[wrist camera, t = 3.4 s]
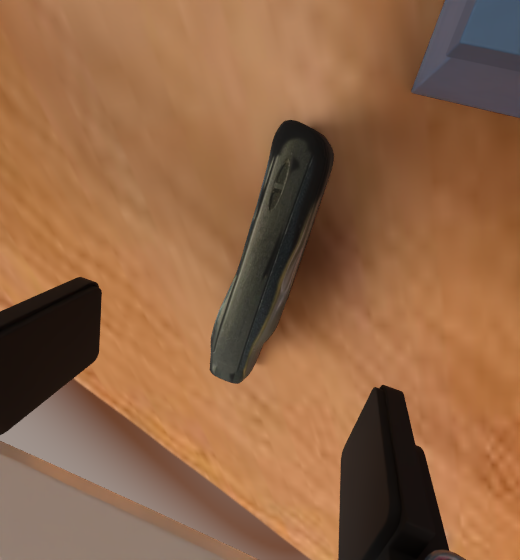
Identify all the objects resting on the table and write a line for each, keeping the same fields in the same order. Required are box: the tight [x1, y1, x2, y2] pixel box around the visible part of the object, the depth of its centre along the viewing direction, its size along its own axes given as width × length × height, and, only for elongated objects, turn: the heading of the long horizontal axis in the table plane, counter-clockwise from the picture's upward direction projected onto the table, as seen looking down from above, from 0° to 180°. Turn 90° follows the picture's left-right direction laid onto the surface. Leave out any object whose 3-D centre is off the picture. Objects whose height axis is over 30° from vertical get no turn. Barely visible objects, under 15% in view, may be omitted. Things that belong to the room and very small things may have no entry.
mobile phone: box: [210, 120, 334, 384], centre depth 17 cm, size 5×3×15 cm
